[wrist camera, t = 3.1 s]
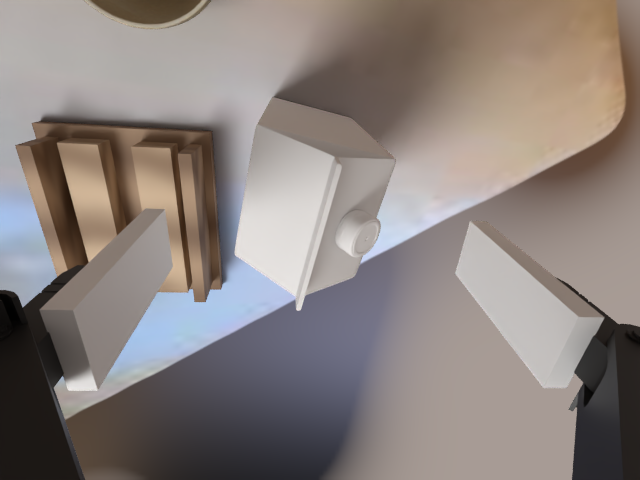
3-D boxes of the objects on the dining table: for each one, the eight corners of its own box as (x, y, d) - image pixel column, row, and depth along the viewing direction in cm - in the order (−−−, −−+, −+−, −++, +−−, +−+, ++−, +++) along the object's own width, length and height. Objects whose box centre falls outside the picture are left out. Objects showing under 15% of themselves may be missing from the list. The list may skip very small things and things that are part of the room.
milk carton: (257, 175, 32) (220, 298, 16) (271, 96, 29) (245, 141, 13) (330, 192, 34) (369, 322, 17) (351, 117, 31) (425, 184, 14)
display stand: (39, 121, 29) (-1, 130, 25) (211, 131, 30) (199, 141, 26) (85, 282, 36) (59, 309, 32) (222, 284, 37) (214, 310, 33)
